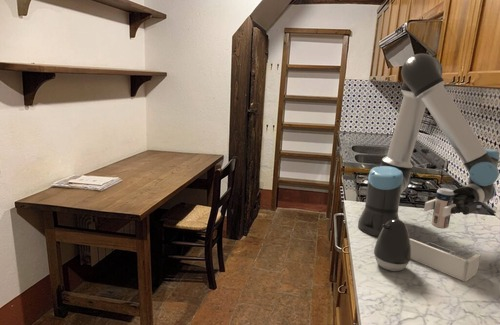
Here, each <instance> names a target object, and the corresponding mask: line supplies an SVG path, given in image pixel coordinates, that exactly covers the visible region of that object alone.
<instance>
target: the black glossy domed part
mask: <svg viewBox="0 0 500 325" xmlns="http://www.w3.org/2000/svg"><path fill="white" fill-rule="evenodd" d="M382 227H383V229H382V230H381V232H380V234H379V236H377V239H376V240H375V241H376V242H375V244H374V245H375V246H374V249H373V254H374V258H375V261H376V262H377V264H378V265H379V266H380V267H381V268H383V269H384V270H387V271H392V272H398V271H402V270H404V269H405V268H406V267H408V264H409V263H410V261H411V260H412V259H411V244H410V234H409V230H408V228H407V225H406V224H405V222H404V221H403V220H401V219H400V218H399V219H391V220H389V221H388V222H387V223H386V224H382Z"/></svg>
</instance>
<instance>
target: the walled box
mask: <svg viewBox="0 0 500 325" xmlns="http://www.w3.org/2000/svg"><path fill="white" fill-rule="evenodd" d="M410 244H411V259H410V260H412V261H413V260H414V261H416V262H418V263H419V264H423V265H425V266H427V267H430V268H432V269H434V270H437V271H439V272H440V273H441V272H442V273H444V274H447V275H449V276H451V277H454V278H455V279H458V280H460V281H462V282H467V281H469V279H471V278H473V277H474V276H476V275H477V274H478V269H479V265H480V259H481V254H479V253H476V254H474V255H472V256H470V257H469V258H467V259H465V258H462V257H460V256H457V255H455V250H451V249H449V248H448V247H447V248H446V247H444V246H441V245H438V244H436V243H434V242H431V241H427V242H425V243H423V242H421V241H418V240H415V239H413V238H410Z"/></svg>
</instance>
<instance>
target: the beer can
mask: <svg viewBox="0 0 500 325" xmlns="http://www.w3.org/2000/svg"><path fill="white" fill-rule="evenodd" d="M453 191H454V190H453V189H451V188H447V187H438V189H437V190H436V192H435V194H436V199H435V205H434V209H433V212H432V218H431V226H433V227H434V228H437V229H441V230H442V229H447V228H449V226H450V222H451V216H452V214H451V215H448V216H446V217H443V216H442V215H443V209H444V207H447V206H449V205H452V204H453V199H454V192H453Z"/></svg>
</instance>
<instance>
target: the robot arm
mask: <svg viewBox="0 0 500 325" xmlns="http://www.w3.org/2000/svg"><path fill="white" fill-rule="evenodd" d="M400 72H401V74H400V75H401V78H402V85H401V88H400V91H401V93H402V95H403V97H402V100H401V104H400V108H399V111H398V115H397V119H396V123H395V127H394V130H393V134H392V137H391V141H390V144H389V147H388V152H387V155H386V156H384V157H383V158H382V159H381V162H380V164H379V166H375V167H371V169H370V170H369V174H368V177H367V186H366V187H367V188H366V189H367V190H366V198H365V206H364V209H363V210H362V213H361V215H360V217H359V219H358V221H357V228H358V229H359V230H360V231H361V232H363V233H365V234H367V235H370V236H373V237H378V236H379V234H380V232H381V230H382V229H383V227H382V224H386V223H387V222H388V221H389V220H391V219H399V220H400V218H399V217H400V216H399V207H400V200H401V195H402V194H403V193H404V191H406V190H407V188H408V187H409V185H410V182H411V174H412V170H413V167H414V165H413V164H412V162H411V158H412V156H413V152H414V149H415V146H416V142H417V139H418V135H419V132H420V129H421V126H422V121H423V118H424V116H425V112H426V110H428V112H429V113H430V115H431V116H432V118H433V120H434V122H436V123H435V124H437V125H438V128H440V130H441V131H442V133H443V135H444V136H445V138H446V140H448V142H449V144H450V145H451V146H450V147H452V149H453V150H454V152H455V154H456V155H457V156H458V158H459V160H460V161H461V163H462V164H463V166H464V168H465V169H466V170H467V172H468V174H469V176H468V182H467V184H465V185H463V186H461V187H460V186H459V187H458V188H455V189H454V190H453V192H454V199H453V204H452V205H449V206H447V207H444V209H443V215H442V216H443V217H446V216H448V215H451V216H452V215H456V214H461V213H462V214H463V215H465V216H466V215H469V214H472V213H474V212H476V211H481V210H482V205H483V204H484V203H488V202H489V201H490V200H492V199H493V198H494V197H495V196H496V194H497V193H496V192H497V190H496V187H495V185H494V184H495V182H496V181H497V180H498V179H499V178H498V177H499V175H500V172H499V169H498V167H499V166H498V165H499V161H500V152H499V151H498V150H496V149H493V148H485V147H484V145H483V144H482V142H481V141H480V139H479V138H478V137H477V136H478V135H476V134H475V132H474V130H473V129H472V128H471V126H470V124H469V122H468V120H466V118H465V117H464V115H463V114H462V112H461V110H460V109H459V108H458V106H457V105H456V103H455V101H454V100H453V98H452V97H451V96H450V94H449V92H448V91H447V90H446V88H445V83H446V82H445V80H444V78H443V77H442V76H443V66H442V64H441V63H440V61H439V60H438V59H437V58H435V57H434V56H432V55H430V54H427V53H416V54H413V55H411V56H410V57H408V58H407V59H406V60H405V61H404V62H403V65H402V67H401V71H400ZM435 199H436V193H433V194H429V195H428V196H427V198H426V202H424V207H423V211H424V212H428V211H430V210H434V205H435Z"/></svg>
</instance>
